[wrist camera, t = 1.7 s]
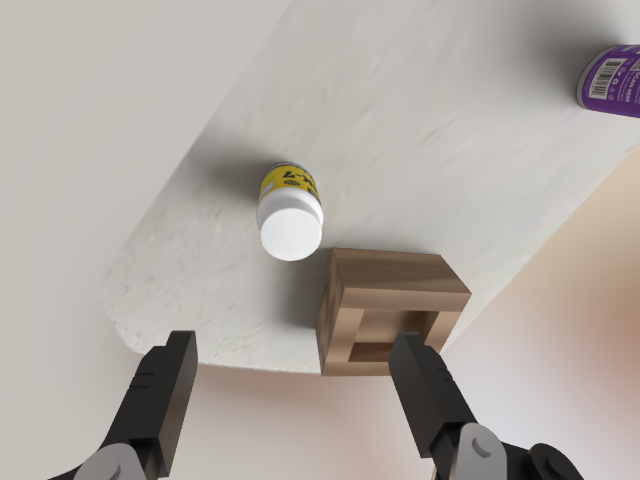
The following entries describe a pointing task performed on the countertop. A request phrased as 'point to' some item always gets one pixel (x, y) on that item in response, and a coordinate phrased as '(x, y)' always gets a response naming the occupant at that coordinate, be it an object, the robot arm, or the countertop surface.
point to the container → (612, 82)
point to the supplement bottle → (289, 213)
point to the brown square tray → (383, 307)
